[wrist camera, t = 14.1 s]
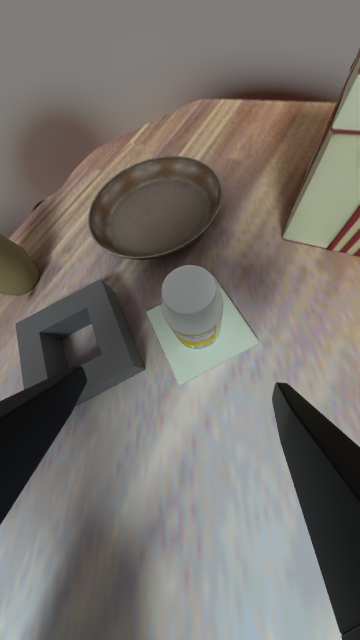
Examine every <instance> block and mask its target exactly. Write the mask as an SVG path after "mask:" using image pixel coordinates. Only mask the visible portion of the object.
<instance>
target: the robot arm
mask: <svg viewBox="0 0 360 640" xmlns="http://www.w3.org/2000/svg"><path fill="white" fill-rule="evenodd" d="M86 384H87V377H86V374H85V371H84V368H83V367H81V366H73V367H71V368H69V369H67V370H65V371H62V372H60V373H58V374H56V375H54V376H52V377H50V378H48V379H46V380H44V381H42V382H40V383H37V384H35V385H33V386H31V387H29V388H27V389H25V390H23V391H21V392H19V393H17V394H15V395H12V396H10V397H8V398H6V399H4V400H2V401H0V525H1V523H2V521H3V520H4V518H5V517H6V515H7V514H8V512H9V510H10V509H11V507H12V506H13V504H14V503H15V501H16V499H17V498H18V496H19V495H20V493H21V492H22V490H23V488H24V487H25V485H26V484H27V482H28V481H29V479H30V477H31V476H32V474H33V473H34V471H35V470H36V468H37V466H38V465H39V463H40V462H41V460H42V459H43V457H44V455H45V454H46V452H47V451H48V449H49V448H50V446H51V444H52V443H53V441H54V440H55V438H56V436H57V435H58V433H59V432H60V430H61V429H62V427H63V425H64V424H65V422H66V421H67V419H68V418H69V416H70V414H71V413H72V411H73V409H74V407H75V405H76V403H77V401H78V399H79V397H80V396H81V394H82V392H83V390H84V388H85V386H86ZM272 402H273V407H274V412H275V417H276V422H277V427H278V432H279V437H280V441H281V445H282V448H283V451H284V455H285V458H286V461H287V464H288V467H289V471H290V474H291V477H292V480H293V483H294V487H295V490H296V493H297V496H298V499H299V503H300V506H301V509H302V512H303V515H304V519H305V522H306V525H307V528H308V531H309V535H310V538H311V541H312V544H313V547H314V550H315V554H316V557H317V560H318V563H319V566H320V570H321V573H322V576H323V579H324V582H325V586H326V589H327V592H328V595H329V598H330V602H331V605H332V608H333V611H334V614H335V618H336V621H337V624H338V627H339V630H340V633H341V634H342V636H341V637H342V640H360V447H359V446H358V445H357V444H356V443H354V442H353V441H352V440H351V439H350V438H349V437H348V436H346V435H345V434H344V433H343V432H342V431H341V430H340V429H339V428H337V427H336V426H335V425H334V424H333V423H332V422H331V421H329V420H328V419H327V418H326V417H325V416H324V415H323V414H321V413H320V412H319V411H318V410H317V409H316V408H315V407H313V406H312V405H311V404H310V403H309V402H308V401H307V400H306V399H304V398H303V397H302V396H301V395H300V394H299V393H298V392H296V391H295V390H294V389H293V388H292V387H291V386H290V385H288V384H287V383H279V382H277V383H276V384H275V387H274V391H273V396H272Z"/></svg>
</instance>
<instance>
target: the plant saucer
mask: <svg viewBox="0 0 360 640" xmlns="http://www.w3.org/2000/svg"><path fill="white" fill-rule="evenodd" d="M222 195H223V192H222V185H221V182H220V180H219V178H218V176H217V174H216V173H215V172H214V171H213V170H212V169H211V168H210V167H209V166H208V165H206V164H204V163H203V162H201V161H198V160H196V159H192V158H188V157H181V156H165V157H158V158H153V159H149V160H145V161H142V162H139V163H137V164H135V165H132V166H131V167H128V168H126V169H125V170H123V171H121V172H120V173H118V174H117V175H115V176H114V177H113V178H111V179H110V180H109V181H108V182H107V183H106V184H105V185H104V186H103V187H102V188H101V190H100V191H99V192H98V194H97V195H96V196H95V198H94V200H93V202H92V204H91V207H90V210H89V214H88V227H89V231H90V234H91V236H92V238H93V239H94V241H95V242H96V243H97V244H98V245H99V246H100V247H101V248H102V249H104V250H105V251H107V252H109V253H111V254H114V255H117V256H120V257H123V258H128V259H136V260H148V259H156V258H161V257H165V256H168V255H171V254H173V253H176V252H178V251H180V250H182V249H184V248H185V247H187V246H188V245H190V244H191V243H193V242H194V241H195V240H196V239H198V238H199V237H200V236H201V235H202V234H203V233H204V232H205V230H206V229H207V228H208V227H209V226H210V224H211V223H212V221H213V220H214V218H215V216H216V215H217V213H218V211H219V208H220V205H221V202H222Z"/></svg>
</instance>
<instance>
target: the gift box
mask: <svg viewBox="0 0 360 640" xmlns="http://www.w3.org/2000/svg"><path fill="white" fill-rule="evenodd" d="M282 238H283V239H285V240H289V241H293V242H298V243H302V244H306V245H311V246H315V247H320V248H324V249H327V250H332V251H337V252H343V253H347V254H351V255H355V256H360V49H359V52H358V54H357V56H356V58H355V60H354V62H353V64H352V66H351V69H350V73H349V76H348V79H347V81H346V84H345V86H344V88H343V90H342V92H341V94H340V97H339V99H338V101H337V103H336V106H335V108H334V111H333V113H332V115H331V117H330V120H329V122H328V124H327V127H326V129H325V131H324V133H323V135H322V138H321V140H320V142H319V144H318V146H317V149H316V151H315V153H314V155H313V157H312V159H311V162H310V164H309V166H308V169H307V171H306V174H305V177H304V179H303V181H302V184H301V186H300V188H299V191H298V193H297V196H296V199H295V202H294V205H293V208H292V211H291V214H290V217H289V219H288V222H287V225H286V228H285V231H284V233H283V237H282Z"/></svg>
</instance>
